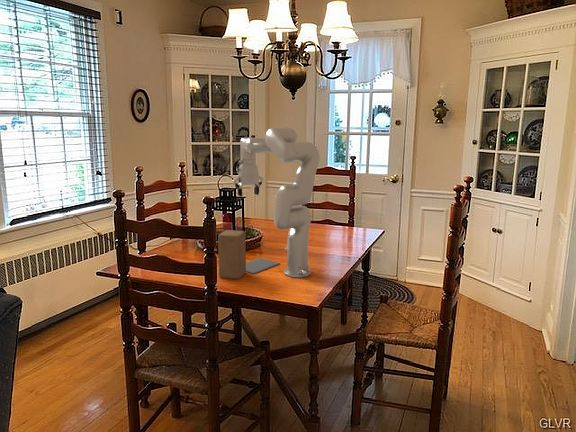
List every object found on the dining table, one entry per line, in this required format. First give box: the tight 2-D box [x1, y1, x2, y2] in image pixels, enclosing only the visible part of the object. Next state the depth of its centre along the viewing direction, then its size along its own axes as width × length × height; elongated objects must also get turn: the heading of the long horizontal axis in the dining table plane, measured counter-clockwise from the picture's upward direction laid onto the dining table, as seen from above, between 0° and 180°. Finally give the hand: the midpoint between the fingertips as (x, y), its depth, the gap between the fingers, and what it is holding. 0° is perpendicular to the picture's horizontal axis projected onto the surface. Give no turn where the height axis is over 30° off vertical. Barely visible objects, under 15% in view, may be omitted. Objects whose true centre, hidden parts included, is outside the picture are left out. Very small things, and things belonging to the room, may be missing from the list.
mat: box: [245, 257, 281, 275], centre depth 220 cm, size 19×13×1 cm
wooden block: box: [217, 229, 247, 280], centre depth 205 cm, size 10×10×20 cm
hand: (248, 195), depth 236 cm, fingers open, 9 cm apart
